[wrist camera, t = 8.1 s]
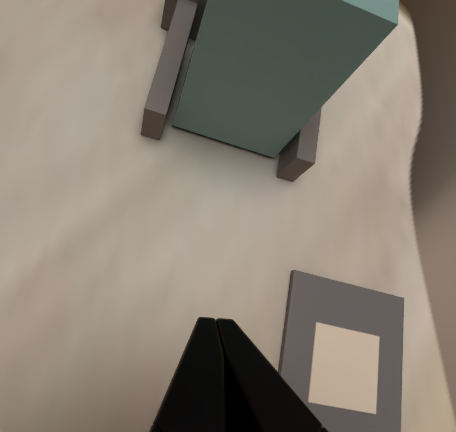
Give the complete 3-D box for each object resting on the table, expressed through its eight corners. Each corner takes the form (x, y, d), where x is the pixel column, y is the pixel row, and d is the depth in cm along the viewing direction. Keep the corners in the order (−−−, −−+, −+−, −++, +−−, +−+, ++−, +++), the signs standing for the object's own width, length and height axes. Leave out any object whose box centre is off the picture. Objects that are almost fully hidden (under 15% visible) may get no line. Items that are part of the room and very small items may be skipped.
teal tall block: (274, 157, 25) (413, 8, 14) (172, 125, 24) (230, -75, 12) (285, 85, 27) (415, -100, 16) (192, 51, 26) (259, -181, 14)
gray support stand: (303, 184, 26) (345, 153, 21) (127, 130, 23) (131, 81, 19) (319, 60, 29) (357, 10, 25) (169, 1, 27) (180, -66, 22)
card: (394, 470, 22) (400, 473, 22) (268, 452, 20) (271, 454, 20) (399, 298, 25) (405, 298, 25) (291, 271, 24) (294, 269, 23)
